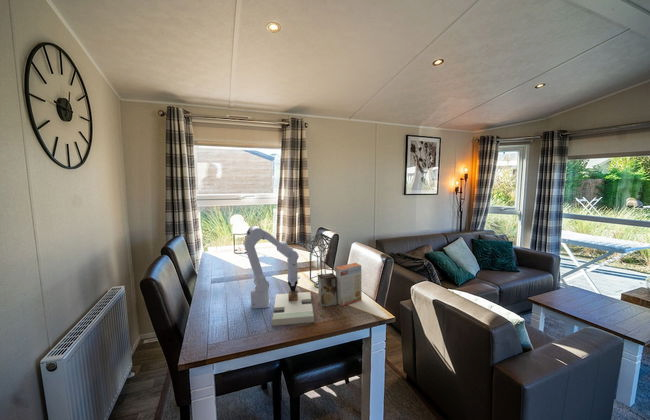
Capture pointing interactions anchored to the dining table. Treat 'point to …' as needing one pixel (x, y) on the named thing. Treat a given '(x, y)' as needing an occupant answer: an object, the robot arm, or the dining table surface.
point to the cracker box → (348, 284)
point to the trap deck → (292, 309)
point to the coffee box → (327, 289)
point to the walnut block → (293, 296)
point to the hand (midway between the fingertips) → (293, 292)
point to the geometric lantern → (321, 251)
